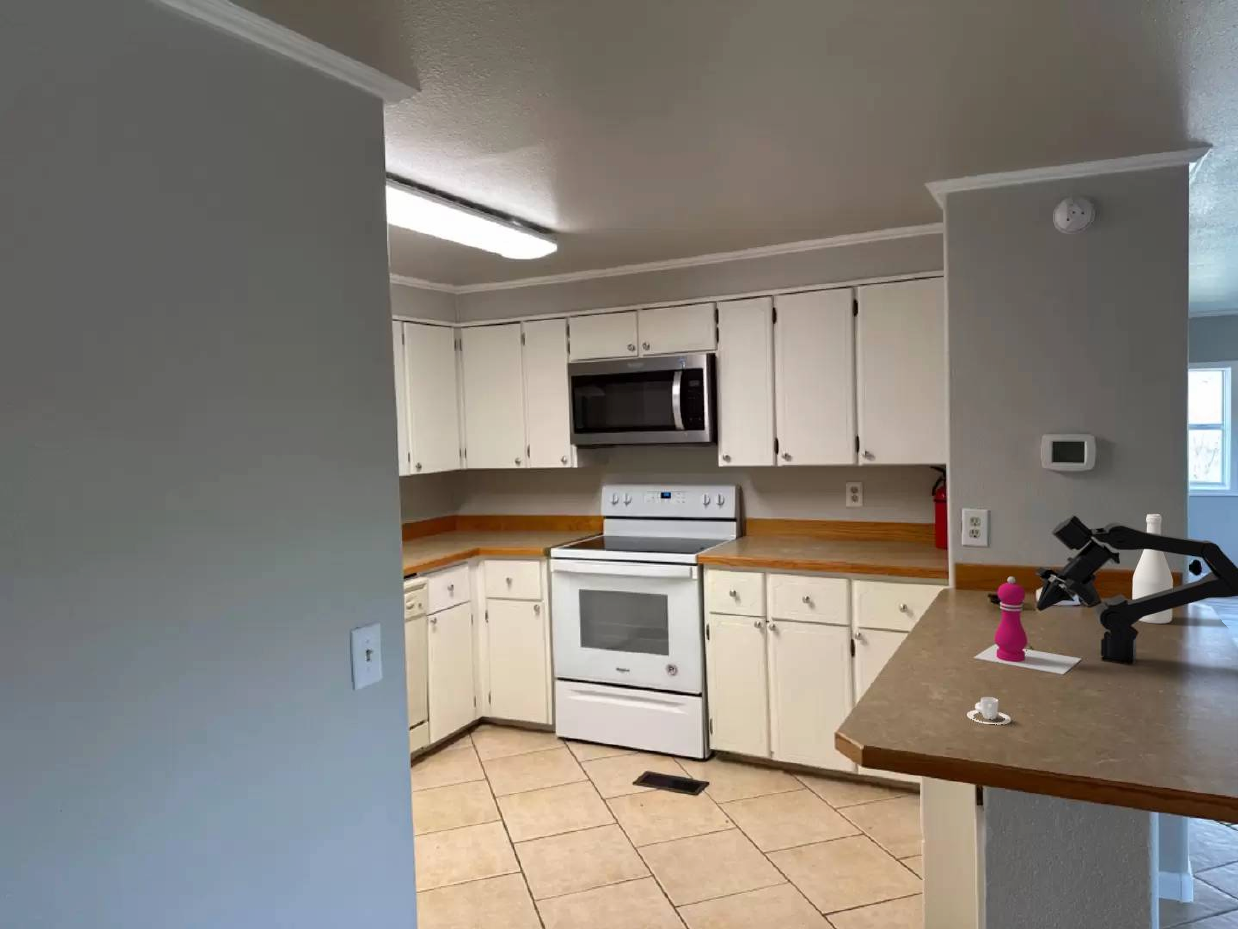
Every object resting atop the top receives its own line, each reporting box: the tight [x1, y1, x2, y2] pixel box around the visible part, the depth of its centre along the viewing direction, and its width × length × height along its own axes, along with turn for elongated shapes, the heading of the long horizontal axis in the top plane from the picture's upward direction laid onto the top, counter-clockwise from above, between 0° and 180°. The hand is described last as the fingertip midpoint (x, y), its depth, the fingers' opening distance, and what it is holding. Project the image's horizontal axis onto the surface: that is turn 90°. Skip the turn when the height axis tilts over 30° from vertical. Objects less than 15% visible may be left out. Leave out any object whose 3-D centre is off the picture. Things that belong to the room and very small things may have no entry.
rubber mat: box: [973, 643, 1082, 675], centre depth 202 cm, size 20×15×1 cm
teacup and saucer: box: [966, 696, 1012, 726], centre depth 165 cm, size 9×8×4 cm
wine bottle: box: [1131, 513, 1174, 624], centre depth 234 cm, size 10×10×30 cm
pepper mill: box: [994, 576, 1028, 662], centre depth 202 cm, size 7×7×20 cm
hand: (1038, 609), depth 202 cm, fingers closed
